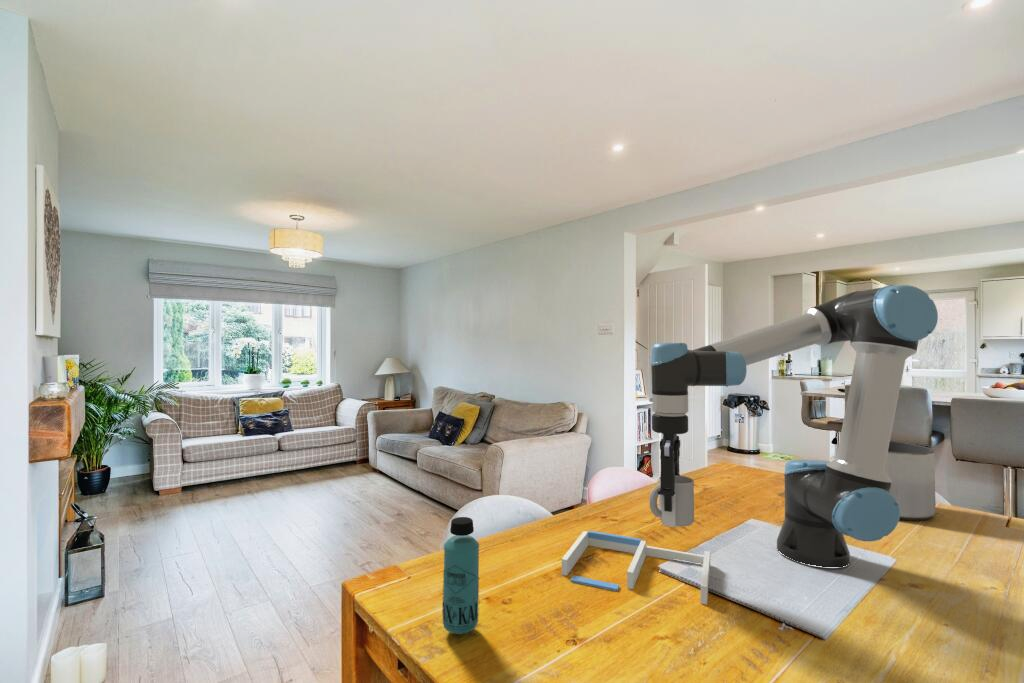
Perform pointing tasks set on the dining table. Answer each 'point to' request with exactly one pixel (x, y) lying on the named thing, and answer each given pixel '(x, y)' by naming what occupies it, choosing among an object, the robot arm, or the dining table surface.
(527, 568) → the dining table surface
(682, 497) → the cup
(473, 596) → the beverage bottle
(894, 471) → the planter
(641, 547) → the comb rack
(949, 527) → the dining table surface
